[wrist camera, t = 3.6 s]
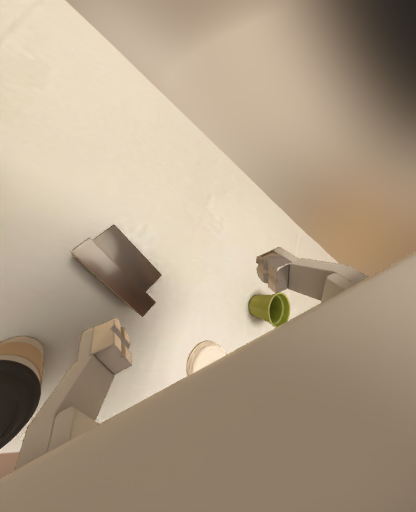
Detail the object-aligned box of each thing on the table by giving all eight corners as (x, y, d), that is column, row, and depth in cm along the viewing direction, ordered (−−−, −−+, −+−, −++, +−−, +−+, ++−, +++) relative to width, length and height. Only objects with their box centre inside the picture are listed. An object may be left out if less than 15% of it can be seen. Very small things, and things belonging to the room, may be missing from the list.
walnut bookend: (129, 306, 39) (142, 317, 31) (72, 255, 34) (70, 251, 26) (160, 275, 43) (179, 276, 35) (113, 225, 38) (122, 213, 30)
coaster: (195, 336, 47) (202, 341, 44) (224, 344, 52) (233, 349, 49) (180, 381, 44) (187, 389, 41) (212, 385, 49) (221, 392, 46)
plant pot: (262, 285, 61) (286, 287, 54) (268, 313, 62) (293, 319, 55) (241, 295, 56) (265, 299, 49) (248, 326, 57) (272, 334, 50)
